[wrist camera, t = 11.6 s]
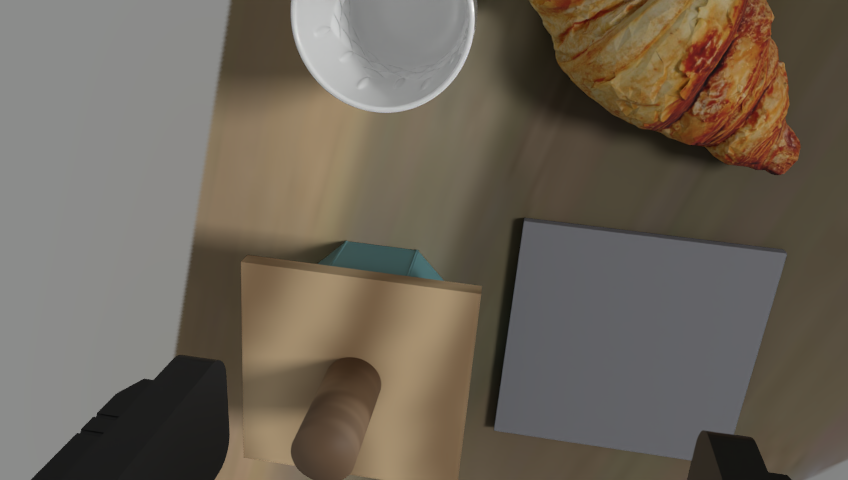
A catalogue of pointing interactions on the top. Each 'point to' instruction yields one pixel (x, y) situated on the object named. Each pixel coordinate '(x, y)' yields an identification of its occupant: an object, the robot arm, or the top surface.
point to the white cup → (384, 48)
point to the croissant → (682, 71)
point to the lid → (355, 370)
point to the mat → (632, 336)
